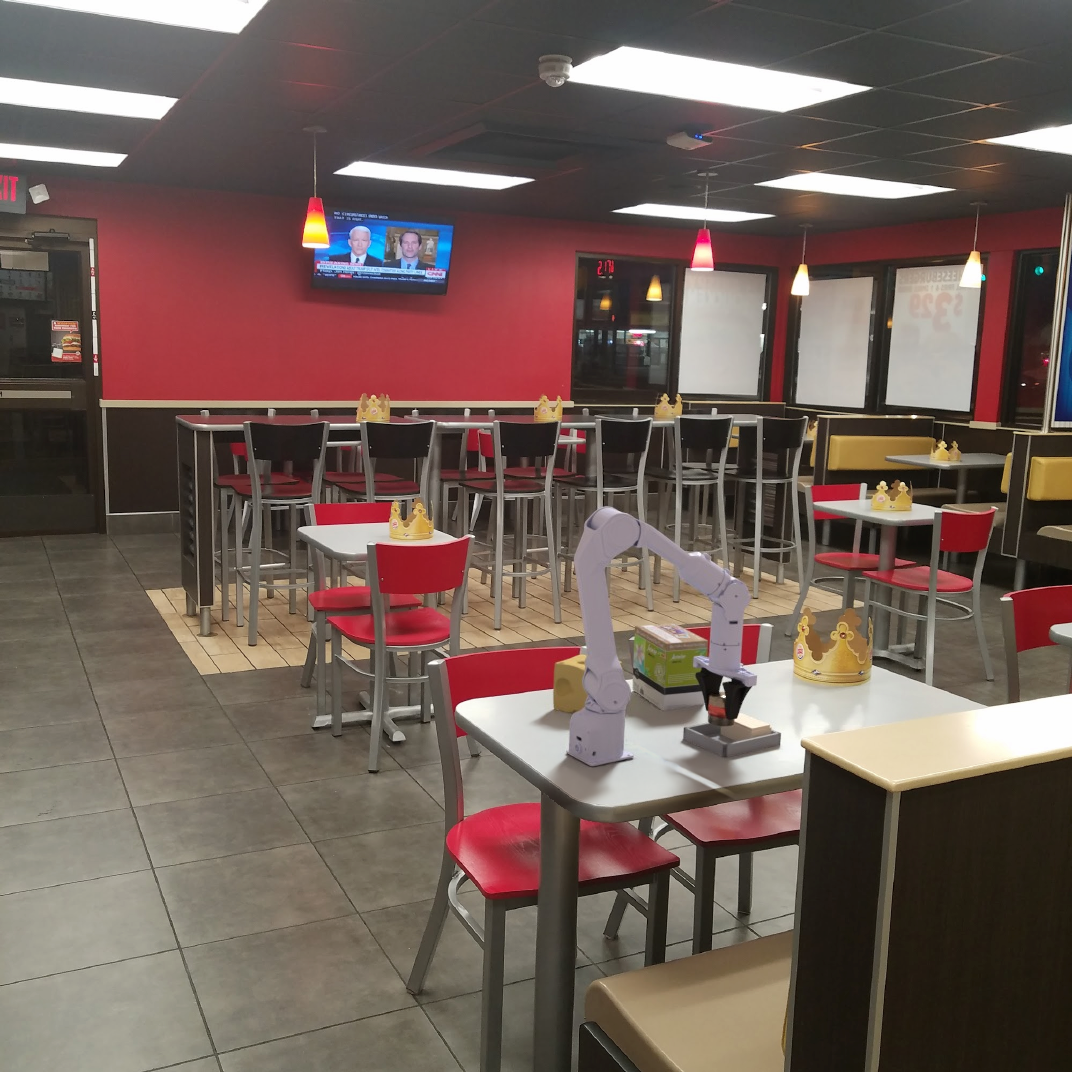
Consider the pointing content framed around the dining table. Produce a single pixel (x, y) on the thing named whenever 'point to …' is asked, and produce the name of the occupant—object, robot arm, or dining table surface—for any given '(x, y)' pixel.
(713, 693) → the tin
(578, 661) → the cheese
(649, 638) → the tea box
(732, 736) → the cream rectangular block
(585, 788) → the dining table surface
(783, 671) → the dining table surface
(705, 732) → the tray
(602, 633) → the robot arm
